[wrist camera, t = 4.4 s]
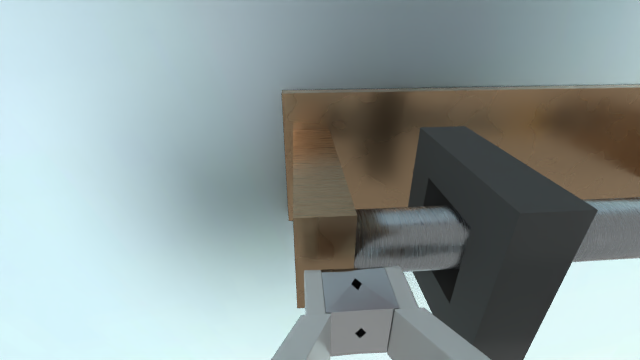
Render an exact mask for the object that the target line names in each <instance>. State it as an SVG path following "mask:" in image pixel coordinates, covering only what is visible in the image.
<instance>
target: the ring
mask: <svg viewBox="0 0 640 360" xmlns="http://www.w3.org/2000/svg"><path fill="white" fill-rule="evenodd" d="M444 205H452V206H453V207H454V208H455V209H456V210H457V211H458V213H459V214H460V215H461V216H462V217H463V219H464V220H465V221H466V222H467V223H468V224H469V226H470V227H471V230H470V234H469V237H468V241H467V244H466V248H465V252H464V255H463V259H462V262H461V266H460V269H444V270H426V271H413V274H414V276H415V278H416V280H417V282H418V284H419V286H420V288H421V290H422V293H423V295H424V297H425V299H426V301H427V303H428V305H429V307H430V310H431V312H432V314H433V315H434V316H435V317H437V318H438V319H439V320H440V321H442V322H443V323H444V324H446V325H447V326H448V327H450V328H451V329H452V330H453V331H455V332H456V333H457V334H459V335H460V336H461V337H462V338H464V339H465V340H466V341H468V342H469V343H470V344H471V345H473V346H474V347H475V348H477V349H478V350H479V351H481V352H482V353H483V354H484V355H486V356H487V357H488V358H490V359H491V360H523V359H524V357H525V355H526V353H527V351H528V349H529V347H530V345H531V343H532V341H533V339H534V337H535V335H536V333H537V331H538V329H539V327H540V325H541V323H542V321H543V319H544V317H545V315H546V313H547V311H548V309H549V307H550V305H551V303H552V301H553V299H554V297H555V295H556V293H557V291H558V289H559V287H560V285H561V283H562V281H563V279H564V277H565V275H566V273H567V271H568V269H569V267H570V265H571V263H572V261H573V259H574V257H575V255H576V253H577V251H578V249H579V247H580V245H581V243H582V241H583V239H584V237H585V235H586V233H587V231H588V229H589V227H590V225H591V223H592V221H593V219H594V217H595V215H596V213H597V211H598V210H597V209H596V208H594V207H593V206H591V205H590V204H588V203H586V202H585V201H583V200H582V199H580V198H578V197H577V196H575V195H574V194H572V193H570V192H569V191H567V190H566V189H564V188H563V187H561V186H559V185H558V184H556V183H555V182H553V181H551V180H550V179H548V178H547V177H545V176H543V175H542V174H540V173H539V172H537V171H536V170H534V169H532V168H531V167H529V166H528V165H526V164H524V163H523V162H521V161H520V160H518V159H516V158H515V157H513V156H512V155H510V154H509V153H507V152H505V151H504V150H502V149H501V148H499V147H497V146H496V145H494V144H493V143H491V142H489V141H488V140H486V139H485V138H483V137H482V136H480V135H478V134H477V133H475V132H474V131H472V130H470V129H469V128H467V127H466V126H455V127H420V132H419V139H418V145H417V151H416V158H415V164H414V170H413V177H412V183H411V190H410V196H409V202H408V207H420V206H444Z"/></svg>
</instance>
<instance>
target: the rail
mask: <svg viewBox="0 0 640 360" xmlns="http://www.w3.org/2000/svg"><path fill="white" fill-rule="evenodd" d="M282 110H283V127H284V145H285V163H286V180H287V198H288V216H289V221H293V228H294V248H295V269H296V289H297V308H305V293H304V270H320V271H321V270H322V269H351V268H367V267H383V266H397V265H399V266H400V267H401V268H402V271H403V272H409V271H426V270H444V269H460V266H461V262H462V259H463V255H464V252H465V248H466V244H467V241H468V237H469V234H470V230H471V227H470V226H469V224H468V223H467V222H466V221H465V220H464V219H463V217H462V216H461V215H460V214H459V213H458V211H457V210H456V209H455V208H454V207H453V206H452V205H444V206H420V207H408V202H409V196H410V190H411V183H412V177H413V170H414V164H415V158H416V151H417V145H418V139H419V132H420V127H455V126H466V127H467V128H469V129H470V130H472V131H474V132H475V133H477V134H478V135H480V136H482V137H483V138H485V139H486V140H488V141H489V142H491V143H493V144H494V145H496V146H497V147H499V148H501V149H502V150H504V151H505V152H507V153H509V154H510V155H512V156H513V157H515V158H516V159H518V160H520V161H521V162H523V163H524V164H526V165H528V166H529V167H531V168H532V169H534V170H536V171H537V172H539V173H540V174H542V175H543V176H545V177H547V178H548V179H550V180H551V181H553V182H555V183H556V184H558V185H559V186H561V187H563V188H564V189H566V190H567V191H569V192H570V193H572V194H574V195H575V196H577V197H578V198H580V199H582V200H583V201H585V202H586V203H588V204H590V205H591V206H593V207H594V208H596V209H597V210H598V211H597V213H596V215H595V217H594V219H593V221H592V223H591V225H590V227H589V229H588V231H587V233H586V235H585V237H584V239H583V241H582V243H581V245H580V247H579V249H578V251H577V253H576V255H575V257H574V259H573V261H572V262H582V261H599V260H616V259H633V258H640V85H579V86H516V87H453V88H390V89H327V90H282Z"/></svg>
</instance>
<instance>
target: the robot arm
mask: <svg viewBox="0 0 640 360" xmlns="http://www.w3.org/2000/svg"><path fill="white" fill-rule="evenodd" d="M304 293H305V315H301V316H300V317H299V319H298V320H297V322H296V323H295V325H294V326H293V328H292V329H291V331H290V332H289V334H288V335H287V337H286V338H285V340H284V341H283V343H282V344H281V346H280V347H279V349H278V350H277V352H276V353H275V355H274V356H273V358H272V359H271V360H330V356H340V355H350V354H361V353H384V352H387V354H388V355H389V357H390V358H391V359H392V360H491V359H490V358H488V357H487V356H486V355H484V354H483V353H482V352H481V351H479V350H478V349H477V348H475V347H474V346H473V345H471V344H470V343H469V342H468V341H466V340H465V339H464V338H462V337H461V336H460V335H459V334H457V333H456V332H455V331H453V330H452V329H451V328H450V327H448V326H447V325H446V324H444V323H443V322H442V321H440V320H439V319H438V318H437V317H435V316H434V315H433V314H431V313H430V312H429V311H428V310H426V309H425V308H419V307H418V305H417V302H416V300H415V298H414V296H413V293H412V291H411V289H410V287H409V284H408V282H407V280H406V277H405V275H404V273H403V271H402V268H401V267H400V266H399V265H397V266H383V267H367V268H351V269H322V270H321V271H320V270H304Z"/></svg>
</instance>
